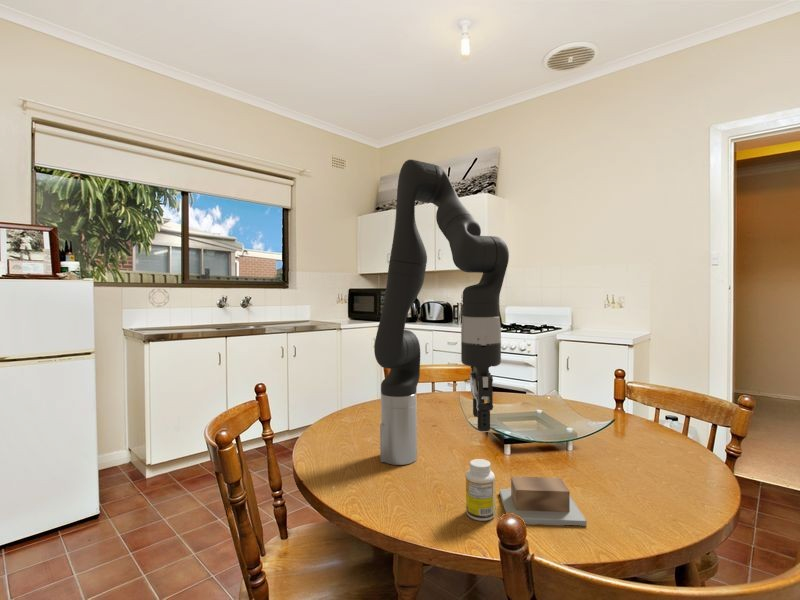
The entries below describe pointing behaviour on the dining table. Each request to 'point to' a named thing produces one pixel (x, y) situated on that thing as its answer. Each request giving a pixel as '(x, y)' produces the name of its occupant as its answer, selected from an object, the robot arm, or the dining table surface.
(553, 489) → the walnut block
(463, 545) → the dining table surface
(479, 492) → the supplement bottle
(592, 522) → the dining table surface
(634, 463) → the dining table surface
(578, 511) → the slate board
